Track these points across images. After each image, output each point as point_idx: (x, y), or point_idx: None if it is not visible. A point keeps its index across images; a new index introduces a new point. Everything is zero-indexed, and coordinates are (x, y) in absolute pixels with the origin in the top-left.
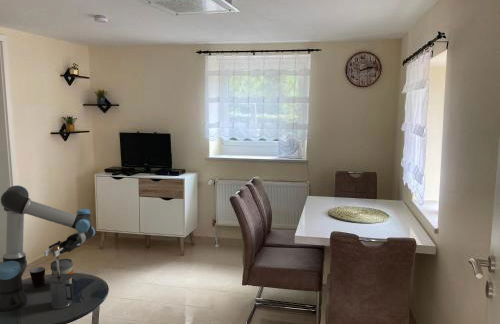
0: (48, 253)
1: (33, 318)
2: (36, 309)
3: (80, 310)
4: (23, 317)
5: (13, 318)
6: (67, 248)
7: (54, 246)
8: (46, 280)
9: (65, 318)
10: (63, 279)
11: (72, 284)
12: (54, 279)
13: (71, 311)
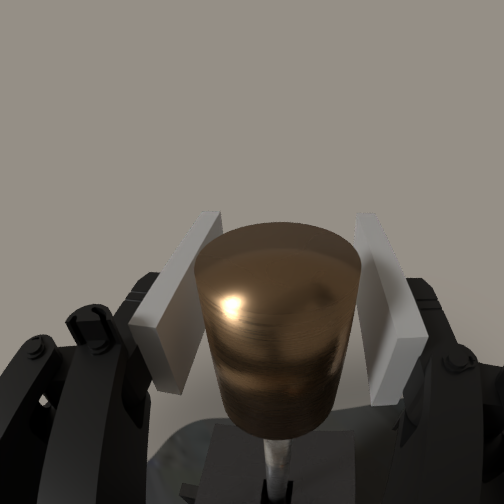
0: (360, 287)
1: (329, 417)
2: (369, 472)
3: (161, 474)
4: (373, 416)
5: (402, 403)
6: (59, 351)
7: (311, 252)
8: (344, 439)
9: (200, 423)
10: (221, 463)
11: (179, 495)
12: (293, 460)
13: (197, 470)
